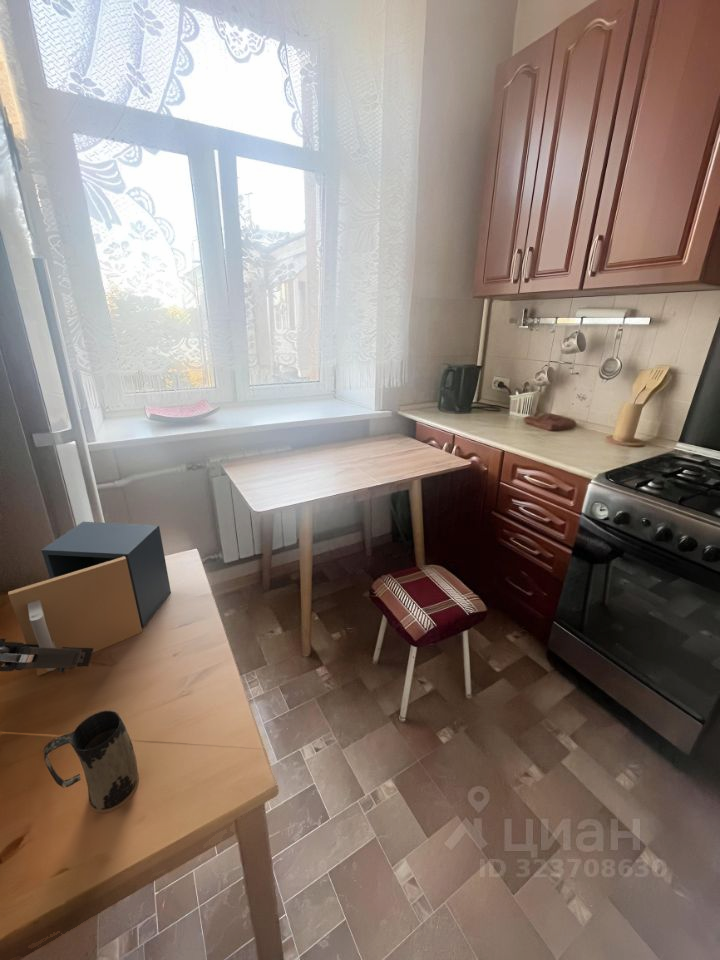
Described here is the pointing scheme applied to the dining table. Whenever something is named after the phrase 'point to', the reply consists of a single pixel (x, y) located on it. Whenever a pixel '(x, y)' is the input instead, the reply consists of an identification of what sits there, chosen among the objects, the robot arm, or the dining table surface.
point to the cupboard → (112, 542)
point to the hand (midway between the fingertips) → (62, 655)
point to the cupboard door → (79, 609)
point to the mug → (101, 760)
